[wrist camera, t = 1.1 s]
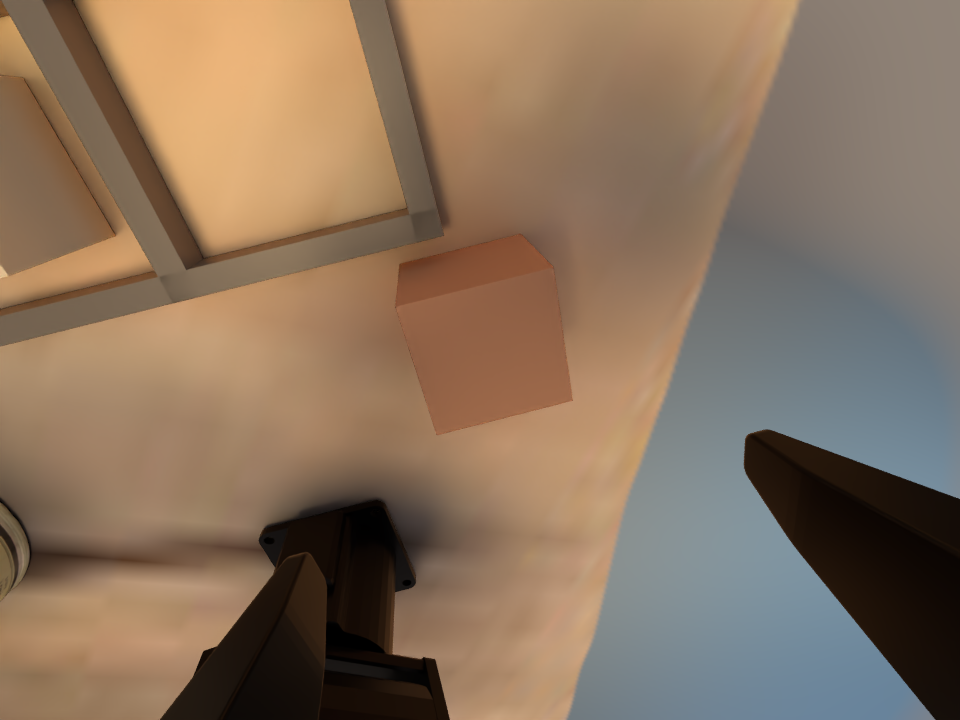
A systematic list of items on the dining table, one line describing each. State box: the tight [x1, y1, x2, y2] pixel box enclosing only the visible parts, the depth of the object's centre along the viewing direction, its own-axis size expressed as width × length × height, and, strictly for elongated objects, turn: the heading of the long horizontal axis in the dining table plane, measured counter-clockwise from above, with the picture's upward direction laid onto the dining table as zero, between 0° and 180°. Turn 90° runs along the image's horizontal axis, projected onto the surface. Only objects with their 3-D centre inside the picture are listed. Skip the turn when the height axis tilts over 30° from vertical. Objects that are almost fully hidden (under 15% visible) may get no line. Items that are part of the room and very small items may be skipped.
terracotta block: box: [395, 234, 573, 435], centre depth 18 cm, size 5×5×5 cm
